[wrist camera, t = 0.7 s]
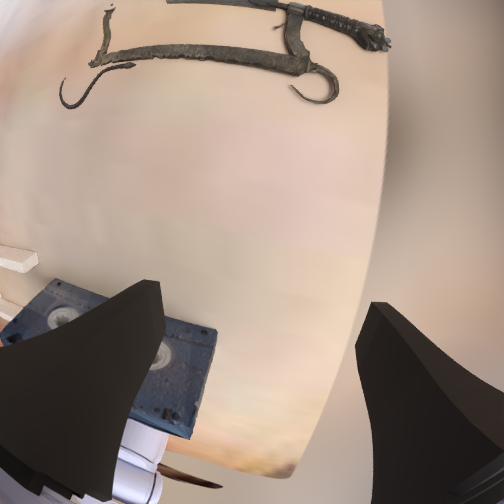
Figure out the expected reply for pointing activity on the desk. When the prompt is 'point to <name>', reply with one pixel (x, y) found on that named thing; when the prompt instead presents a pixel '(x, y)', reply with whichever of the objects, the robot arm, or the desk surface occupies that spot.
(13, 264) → the rail dock
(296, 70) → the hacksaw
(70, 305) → the vhs cassette tape
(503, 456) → the robot arm
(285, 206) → the desk surface
